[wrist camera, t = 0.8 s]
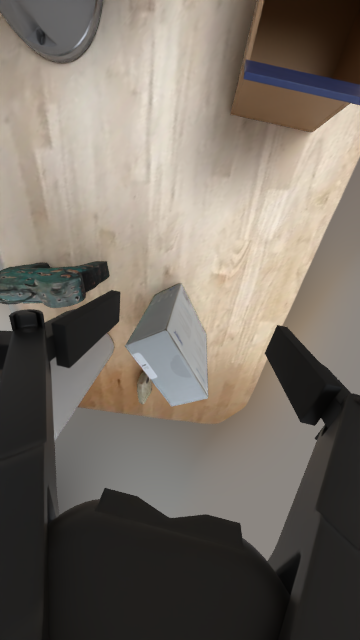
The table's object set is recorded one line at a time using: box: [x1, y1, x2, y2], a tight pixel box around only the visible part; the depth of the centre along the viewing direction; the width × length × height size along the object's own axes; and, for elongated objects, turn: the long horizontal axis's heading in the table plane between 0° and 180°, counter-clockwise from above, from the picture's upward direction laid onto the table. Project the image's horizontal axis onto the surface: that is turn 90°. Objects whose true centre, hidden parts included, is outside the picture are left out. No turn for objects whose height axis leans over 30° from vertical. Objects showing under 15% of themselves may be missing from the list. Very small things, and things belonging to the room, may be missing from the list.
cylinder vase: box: [50, 333, 114, 441], centre depth 43 cm, size 12×12×25 cm
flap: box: [243, 59, 360, 105], centre depth 17 cm, size 7×13×1 cm
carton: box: [231, 0, 360, 132], centre depth 20 cm, size 15×13×11 cm
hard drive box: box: [125, 284, 208, 406], centre depth 38 cm, size 16×8×20 cm, turn 27°
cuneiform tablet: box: [137, 372, 152, 404], centre depth 56 cm, size 7×4×12 cm
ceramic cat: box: [0, 262, 109, 308], centre depth 35 cm, size 20×6×20 cm, turn 91°
